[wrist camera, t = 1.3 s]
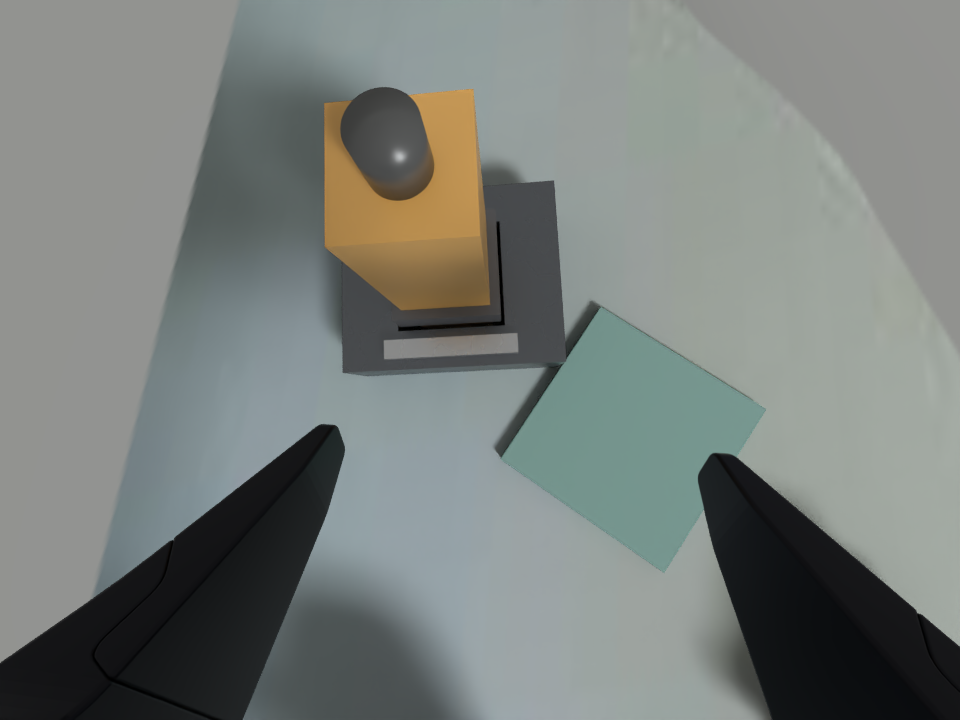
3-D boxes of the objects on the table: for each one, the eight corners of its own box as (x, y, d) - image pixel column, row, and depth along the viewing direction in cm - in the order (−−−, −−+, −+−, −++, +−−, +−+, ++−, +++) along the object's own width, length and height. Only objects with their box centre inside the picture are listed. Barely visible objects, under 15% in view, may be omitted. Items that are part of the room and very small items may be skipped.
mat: (659, 567, 21) (664, 573, 20) (500, 457, 22) (500, 459, 21) (759, 408, 21) (766, 409, 21) (598, 309, 22) (601, 306, 22)
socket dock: (556, 366, 22) (568, 360, 18) (366, 375, 23) (337, 372, 19) (546, 212, 23) (555, 174, 19) (364, 226, 24) (336, 191, 20)
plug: (501, 332, 23) (498, 224, 8) (417, 337, 23) (271, 241, 9) (497, 250, 23) (487, 12, 9) (414, 256, 24) (273, 35, 9)
